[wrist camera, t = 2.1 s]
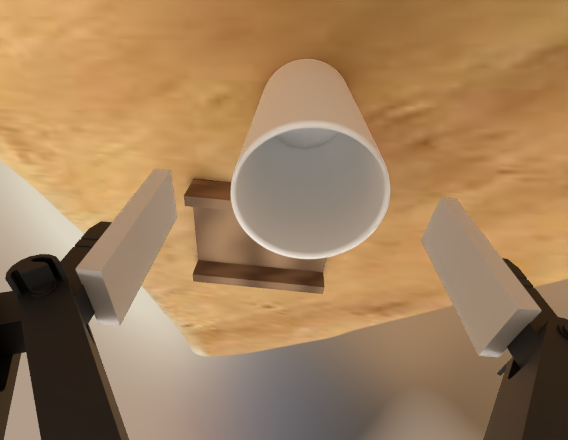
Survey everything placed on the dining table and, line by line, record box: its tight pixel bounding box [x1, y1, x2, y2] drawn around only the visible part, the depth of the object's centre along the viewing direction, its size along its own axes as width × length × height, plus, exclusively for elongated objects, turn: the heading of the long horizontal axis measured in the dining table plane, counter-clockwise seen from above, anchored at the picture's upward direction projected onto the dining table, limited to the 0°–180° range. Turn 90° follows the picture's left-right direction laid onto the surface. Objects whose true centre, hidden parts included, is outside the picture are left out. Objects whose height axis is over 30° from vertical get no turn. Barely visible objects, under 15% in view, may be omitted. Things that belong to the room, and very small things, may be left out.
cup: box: [230, 59, 390, 259], centre depth 23 cm, size 8×8×16 cm
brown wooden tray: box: [184, 179, 327, 294], centre depth 36 cm, size 16×12×4 cm
